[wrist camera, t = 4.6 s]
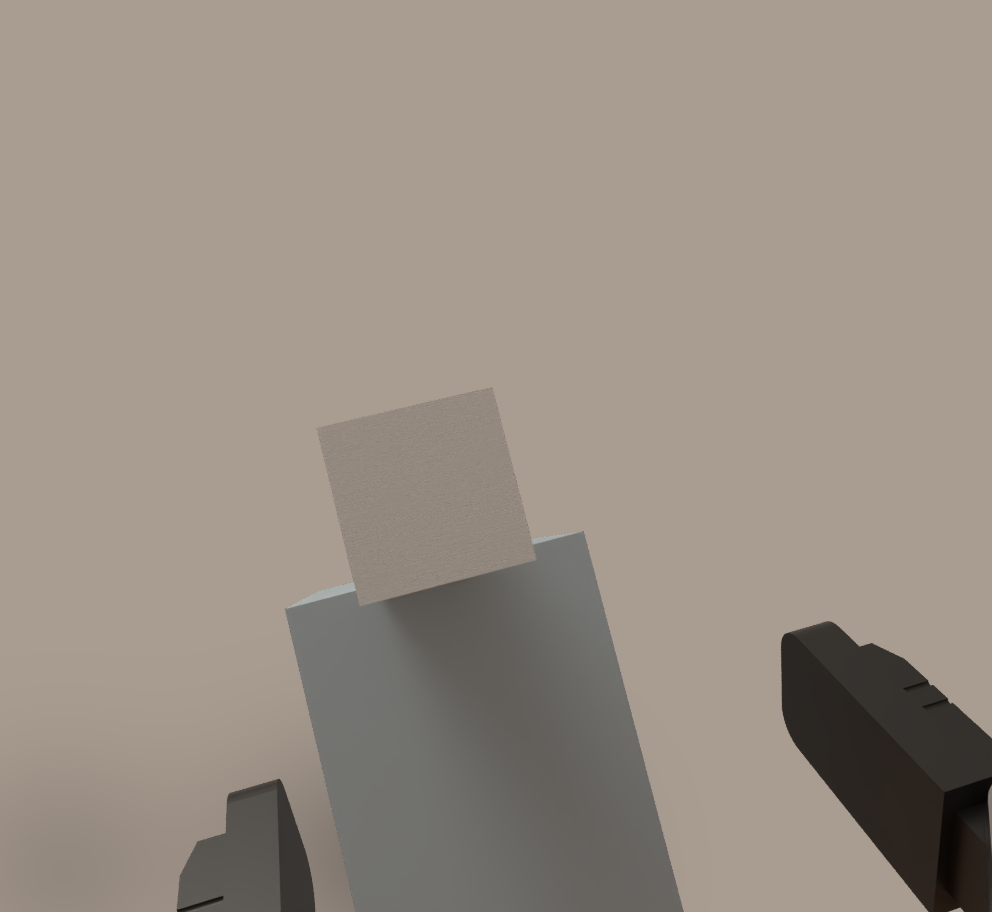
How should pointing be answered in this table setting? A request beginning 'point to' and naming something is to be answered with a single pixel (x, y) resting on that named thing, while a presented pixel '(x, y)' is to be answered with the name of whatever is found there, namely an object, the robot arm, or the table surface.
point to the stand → (483, 744)
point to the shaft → (425, 495)
